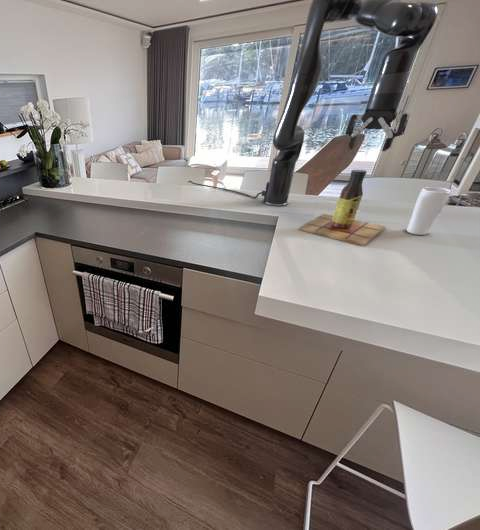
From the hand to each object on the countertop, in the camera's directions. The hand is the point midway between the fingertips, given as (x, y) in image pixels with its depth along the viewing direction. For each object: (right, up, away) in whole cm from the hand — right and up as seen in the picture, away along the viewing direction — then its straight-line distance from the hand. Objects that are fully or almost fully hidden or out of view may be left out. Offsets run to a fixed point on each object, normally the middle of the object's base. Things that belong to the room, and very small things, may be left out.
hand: (367, 150), depth 92 cm
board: (+2, -24, +14) cm, 28 cm away
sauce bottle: (+2, -23, +13) cm, 27 cm away
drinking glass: (+23, -26, +7) cm, 36 cm away
